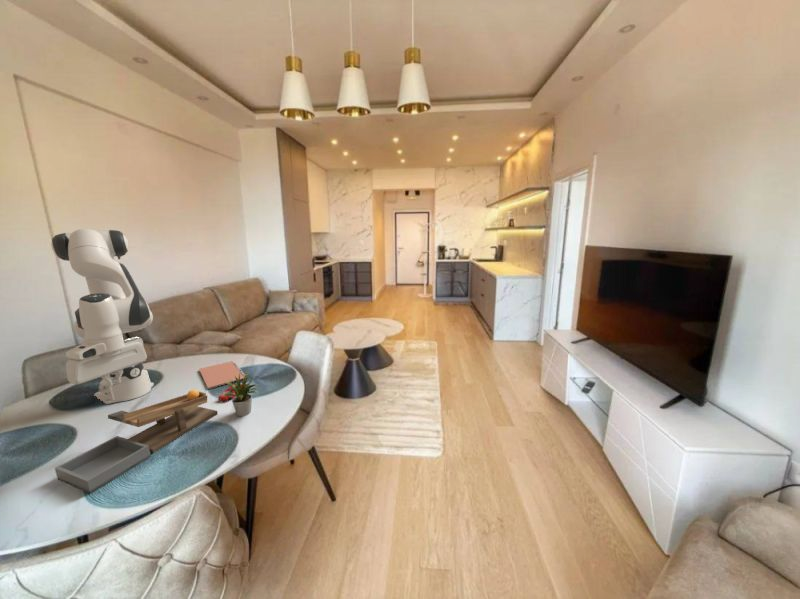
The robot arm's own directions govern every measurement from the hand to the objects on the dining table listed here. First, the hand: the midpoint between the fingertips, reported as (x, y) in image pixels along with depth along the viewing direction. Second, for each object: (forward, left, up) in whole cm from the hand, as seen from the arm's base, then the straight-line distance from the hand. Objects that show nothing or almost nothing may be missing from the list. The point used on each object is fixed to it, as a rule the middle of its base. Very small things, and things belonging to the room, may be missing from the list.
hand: (114, 384), depth 105 cm
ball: (+8, +20, -13) cm, 25 cm away
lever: (+4, +10, -15) cm, 18 cm away
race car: (+8, +37, -22) cm, 44 cm away
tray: (+8, -10, -22) cm, 25 cm away
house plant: (+24, +26, -22) cm, 41 cm away
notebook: (-14, +51, -22) cm, 57 cm away
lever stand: (+8, +10, -22) cm, 25 cm away
